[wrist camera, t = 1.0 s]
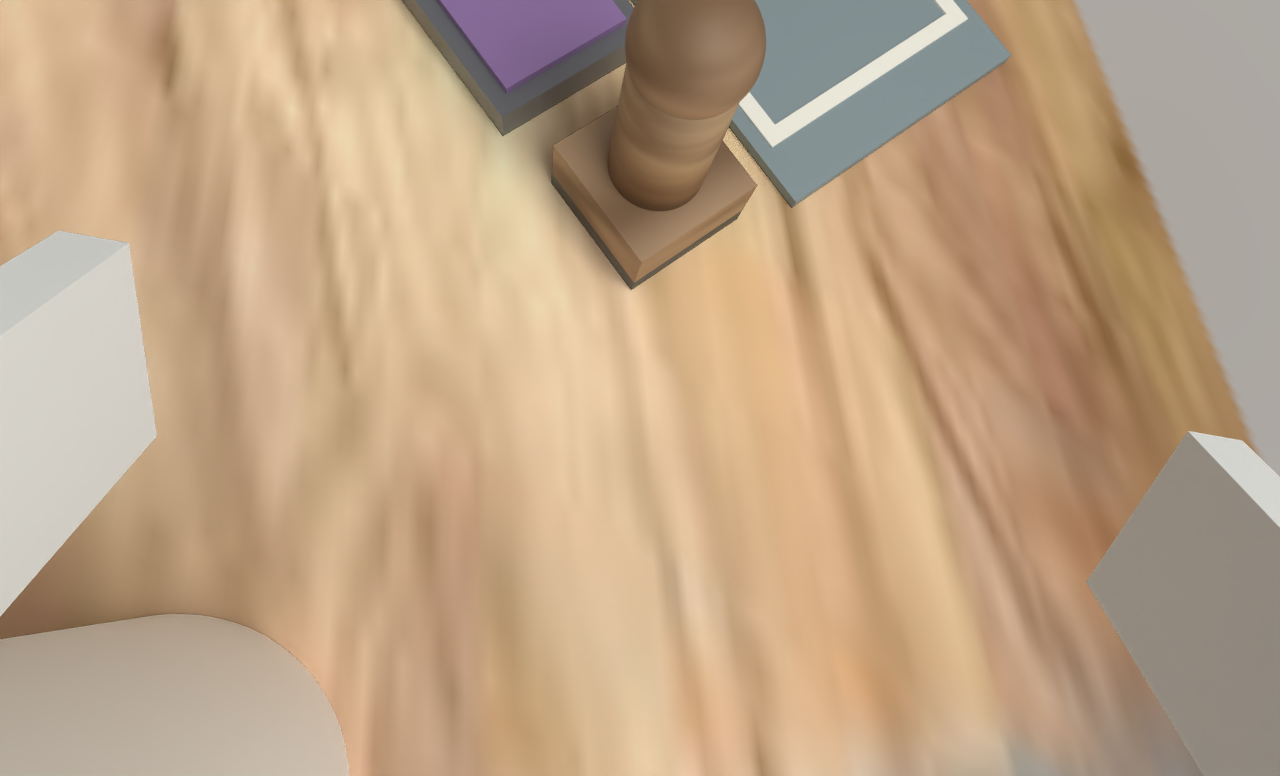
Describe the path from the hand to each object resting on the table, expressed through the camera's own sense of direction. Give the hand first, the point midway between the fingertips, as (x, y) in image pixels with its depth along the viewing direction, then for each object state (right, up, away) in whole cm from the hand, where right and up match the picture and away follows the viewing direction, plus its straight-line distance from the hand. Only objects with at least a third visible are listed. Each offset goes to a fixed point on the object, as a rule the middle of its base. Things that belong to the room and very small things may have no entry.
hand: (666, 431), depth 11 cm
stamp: (0, +9, +27) cm, 28 cm away
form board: (+7, +20, +30) cm, 36 cm away
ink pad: (-7, +19, +28) cm, 34 cm away
